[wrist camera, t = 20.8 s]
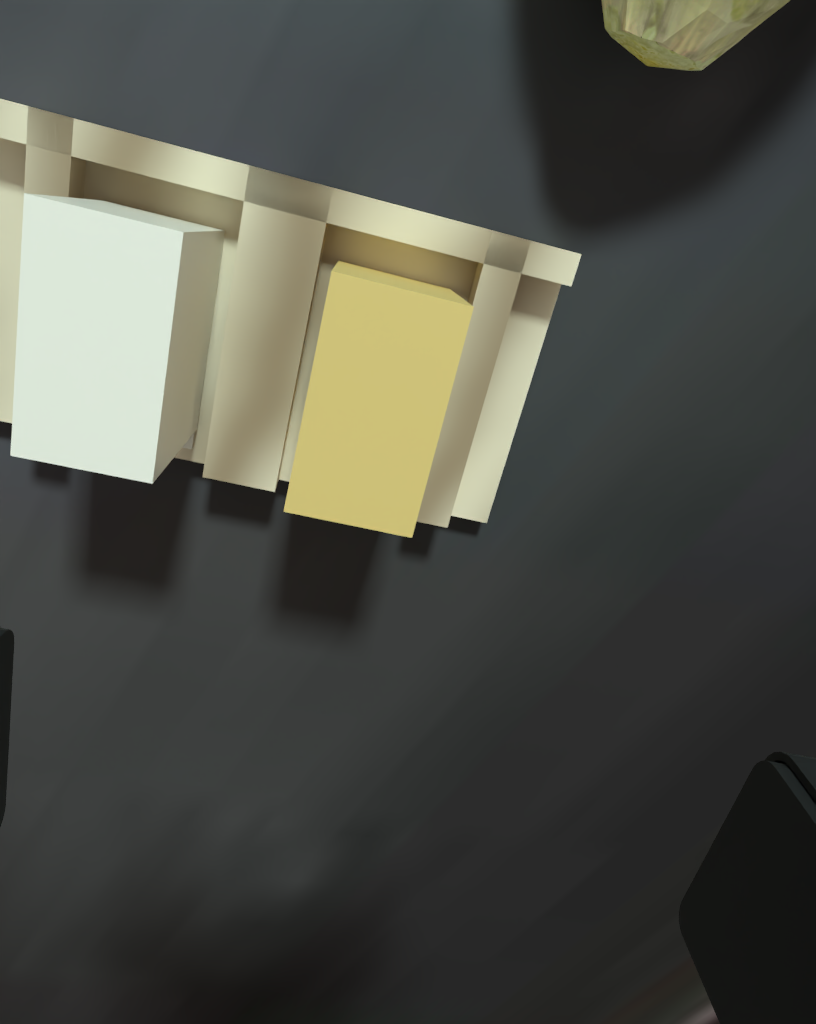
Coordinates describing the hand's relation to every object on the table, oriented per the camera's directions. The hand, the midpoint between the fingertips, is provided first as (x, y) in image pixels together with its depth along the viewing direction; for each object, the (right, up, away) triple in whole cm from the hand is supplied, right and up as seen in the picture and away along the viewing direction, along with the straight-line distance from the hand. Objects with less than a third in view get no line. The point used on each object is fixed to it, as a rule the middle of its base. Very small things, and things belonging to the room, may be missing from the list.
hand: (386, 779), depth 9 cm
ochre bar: (-1, +9, +21) cm, 23 cm away
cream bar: (-10, +11, +20) cm, 25 cm away
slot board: (-5, +11, +22) cm, 25 cm away
